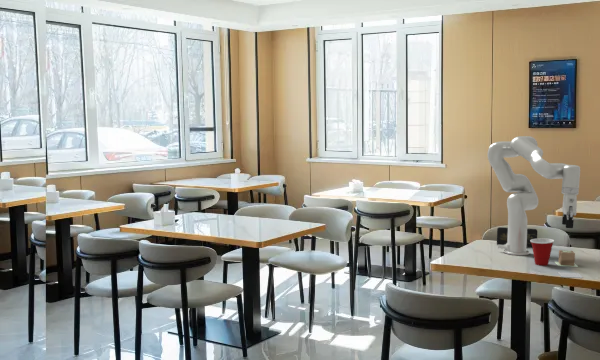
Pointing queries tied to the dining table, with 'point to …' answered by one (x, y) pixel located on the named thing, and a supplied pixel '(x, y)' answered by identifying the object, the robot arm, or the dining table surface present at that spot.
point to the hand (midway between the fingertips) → (567, 226)
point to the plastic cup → (542, 250)
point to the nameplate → (503, 236)
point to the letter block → (566, 257)
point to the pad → (566, 265)
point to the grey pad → (570, 275)
